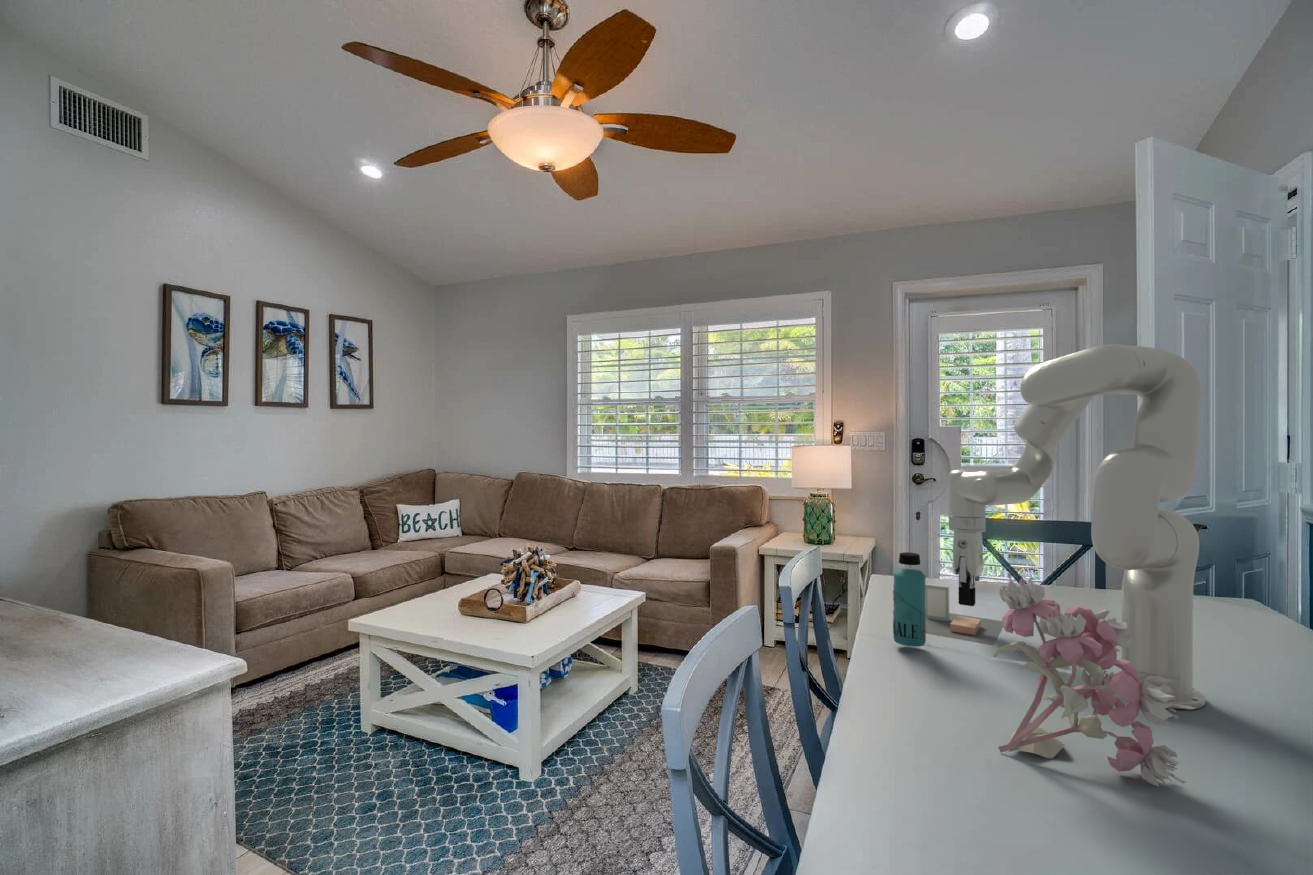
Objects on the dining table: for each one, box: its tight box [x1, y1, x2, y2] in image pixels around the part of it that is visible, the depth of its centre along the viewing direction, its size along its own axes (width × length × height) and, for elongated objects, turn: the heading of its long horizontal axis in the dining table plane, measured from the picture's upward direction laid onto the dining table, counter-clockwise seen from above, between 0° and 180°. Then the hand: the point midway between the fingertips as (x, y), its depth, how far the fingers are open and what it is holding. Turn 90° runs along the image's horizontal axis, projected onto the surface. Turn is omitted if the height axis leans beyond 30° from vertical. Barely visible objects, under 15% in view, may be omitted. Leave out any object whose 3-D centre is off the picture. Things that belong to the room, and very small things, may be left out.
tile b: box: [925, 583, 950, 621], centre depth 148 cm, size 2×5×8 cm, turn 54°
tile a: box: [950, 615, 981, 635], centre depth 140 cm, size 2×5×8 cm
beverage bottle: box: [892, 551, 927, 648], centre depth 129 cm, size 6×7×20 cm
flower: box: [992, 572, 1196, 787], centre depth 83 cm, size 20×22×25 cm
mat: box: [925, 612, 1004, 646], centre depth 143 cm, size 20×20×1 cm
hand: (966, 604), depth 140 cm, fingers closed
